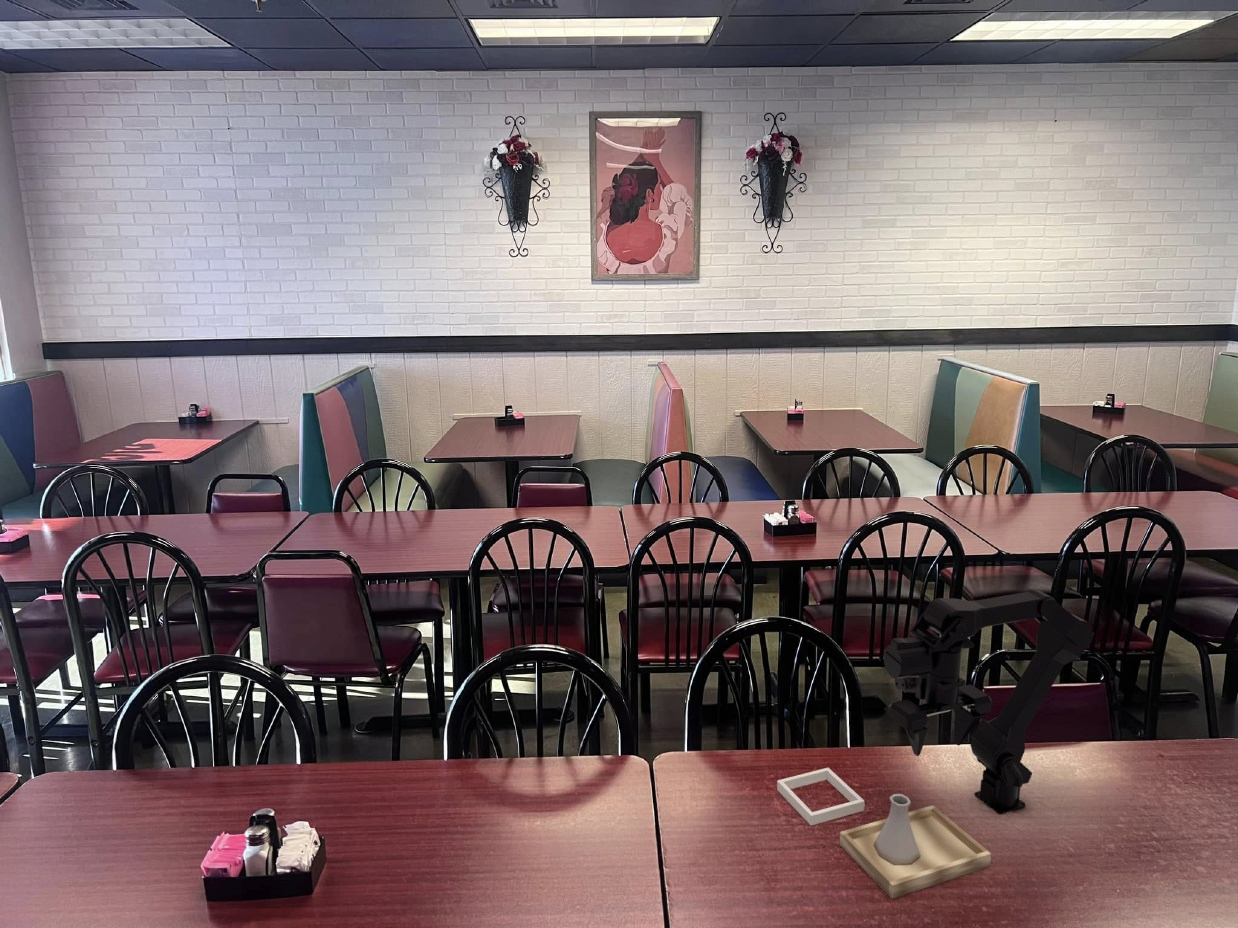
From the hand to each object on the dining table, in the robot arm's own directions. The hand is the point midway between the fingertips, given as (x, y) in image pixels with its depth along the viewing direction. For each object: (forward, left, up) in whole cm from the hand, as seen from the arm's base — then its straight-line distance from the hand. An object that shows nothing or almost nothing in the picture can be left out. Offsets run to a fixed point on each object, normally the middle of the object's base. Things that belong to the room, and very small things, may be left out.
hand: (936, 749), depth 150 cm
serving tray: (+11, +8, -13) cm, 19 cm away
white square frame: (+17, -11, -13) cm, 24 cm away
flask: (+14, +7, -12) cm, 20 cm away
